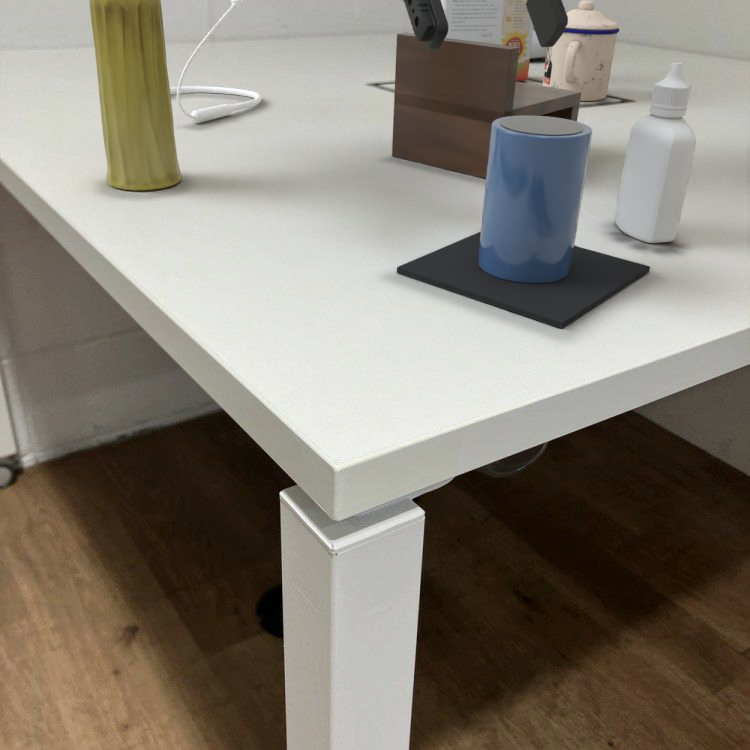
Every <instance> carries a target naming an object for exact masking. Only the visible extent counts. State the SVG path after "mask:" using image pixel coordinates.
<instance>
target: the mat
mask: <svg viewBox="0 0 750 750" xmlns="http://www.w3.org/2000/svg"><path fill="white" fill-rule="evenodd" d="M480 234H481V231H479V232H476V233H474V234H471V235H469V236H467V237H464V238H462V239H460V240H457V241H455V242H452V243H451V244H448V245H445V246H443V247H441V248H438V249H436V250H434V251H431V252H429V253H427V254H425V255H422V256H419V257H418V258H417V257H416V258H415V259H412V260H410V261H408V262H405V263H403V264H401V265H398V266H397V267H396V273H397V274H400V275H403V276H406V277H409V278H412V279H414V280H418V281H421V282H423V283H426V284H430V285H432V286H435V287H438V288H441V289H444V290H447V291H450V292H453V293H456V294H459V295H462V296H465V297H468V298H470V299H474V300H476V301H480V302H482V303H485V304H488V305H491V306H494V307H497V308H500V309H503V310H506V311H509V312H511V313H515V314H517V315H520V316H524V317H526V318H529V319H532V320H535V321H537V322H541V323H543V324H547V325H550V326H553V327H556V328H558V329H563V328H565V327H567V326H568V325H569V324H572V323H573V322H574V321H575V320H577V319H579V318H580V317H582V316H583V315H586V313H588V312H590V311H591V310H593V309H594V308H596V307H597V306H599V305H601V304H602V303H603V302H605V301H606V300H609V298H611V297H613V296H615V295H616V294H617V293H619V292H620V291H623V289H625V288H627V287H628V286H629V285H631V284H632V283H634V282H636V281H637V280H639V279H641V278H642V277H643V276H645V275H647V274H649V273H650V271H651V266H650V265H647V264H643V263H639V262H636V261H632V260H628V259H625V258H622V257H617V256H614V255H610V254H607V253H603V252H599V251H595V250H592V249H588V248H585V247H581V246H577V245H574V250H573V257H572V263H571V269H570V273H569V274H568V275H567V276H566V277H565V278H563V279H561V280H558V281H554V282H549V283H520V282H513V281H508V280H504V279H500V278H497V277H494V276H492V275H490V274H488V273H486V272H485V271H483V270H482V269H481V268H480V267H479V264H478V254H479V244H480Z"/></svg>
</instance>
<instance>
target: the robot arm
mask: <svg viewBox="0 0 750 750" xmlns="http://www.w3.org/2000/svg"><path fill="white" fill-rule="evenodd" d="M400 1H401V2H402V3H404V5H405V8H406V12H407V15H408V18H409V21H410V25H411V28H412V32H413V31H414V34H415V36H416V37H417V38H418V40H419V41H423V42H424V45H425V48H426V49H427V50H438V49H439V48H440V46H441V44H442V43H443V41H444V39H445V37H446V36H447V34H448V22H447V19H446V16H445V13H444V9H443V6H442V3H441V0H400ZM526 7H527V10H528V12H529V15H530V18H531V21H532V24H533V27H534V30H535V32H536V35H537V38H538V41H539V44H540V46H541V47H553V46H554V45H555V44H556V42H557V41H558V40H559V38H560V37H561V36H562V34H563V33H564V31H565V27H566V26H567V24H568V16H567V14H566V13H567V11H566V8H565V5H564V2H563V0H527V2H526Z"/></svg>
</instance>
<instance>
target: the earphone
mask: <svg viewBox="0 0 750 750" xmlns="http://www.w3.org/2000/svg"><path fill="white" fill-rule="evenodd" d="M229 1H230V7H228V9H227V10H226V12H224V14H223V15H222V16H221V17H220V18H219V20H218V21H217V22H216V23H215V25H213V27H212V28H210V30H209V31H208V33H207V34H206V35H205V36H204V38H203V39H202V40H201V42H200V43H199V44H198V45H197V47H196V48H195V50H194V51H193V52H192V54H191V55H190V57H189V58H188V60H187V62H186V64H185V66H184V68H183V70H182V72H181V75H180V77H179V80H178V83H177V86H169V87H170V95H172V94H176V102H177V107H178V108H179V110H180V112H181V113H182V114H183V115H184V116H186V117H187V118H189V119H191V121H192V122H193V123H194V124H199V123H203V122H208V121H210V120H215V119H220V118H224V117H228V116H230V115H231V114H232V113H234V112H236V111H240V110H245V109H249V108H252V107H254V106H257V105H258V104H260V103H261V102H262V100H263V99H262V95H261V94H260V93H258V92H256V91H252V90H247V89H240V88H234V87H233V88H231V87H223V86H221V87H220V86H219V87H218V86H206V85H205V86H204V85H203V86H202V85H188V86H187V85H184V86H183V85H182V84H183V81H184V78H185V75H186V73H187V71H188V69H189V67H190V65H191V63H192V61H193V60H194V59H195V57H196V55H197V54H198V53H199V51H200V50H201V48H202V47H203V46H204V45H205V43H206V42H207V41H208V40H209V38H210V37H211V36H212V35H213V33H214V32H215V31H216V30H217V28H218V27H219V26H220V25H221V24H222V23H223V21H224V20H225V19H226V18H227V17H228V15H229V14H230V13H231V12H232V11H233V10H234V8H238V7H239V6H240V5H241V4H242V3H243V2H244V0H229ZM182 93H210V94H212V93H213V94H226V95H235V96H243V97H248V98H252V99H250V100H246V101H243V102H237V103H234V104H230V103H222V104H218V105H212V106H209V107H204V108H199V109H194V110H192V111H191V112H190V113H188V112H187V111H186V110H185V109H184V108H183V106H182V103H181V94H182Z"/></svg>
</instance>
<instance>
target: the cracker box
mask: <svg viewBox="0 0 750 750" xmlns="http://www.w3.org/2000/svg"><path fill="white" fill-rule="evenodd" d="M526 2H527V0H441V3H442V6H443V9H444V13H445V16H446V19H447V22H448V34H447V36H446V37H445V38H451V39H459V40H466V41H474V42H482V43H489V44H497V45H504V46H512V47H519V48H520V49H519V58H518V67H517V76H516V82H524V81H528V79H529V71H530V61H531V58H530V53H531V44H532V34H533V24H532V21H531V18H530V15H529V12H528V10H527V7H526Z"/></svg>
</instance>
